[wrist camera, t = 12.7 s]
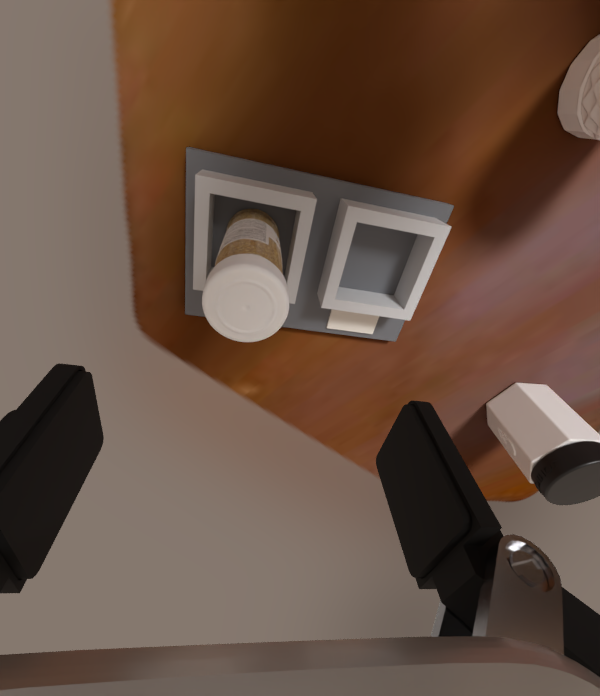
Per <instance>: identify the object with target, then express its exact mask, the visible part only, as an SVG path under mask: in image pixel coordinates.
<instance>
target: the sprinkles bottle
mask: <svg viewBox="0 0 600 696" xmlns="http://www.w3.org/2000/svg"><path fill="white" fill-rule="evenodd" d="M202 307H203V311H204V314H205V317H206V319H207V320H208V322H209V323H210V325H211V326H212V327H213V328H214V329H215V330H216V331H217V332H218V333H220V334H221V335H223V336H224V337H227V338H229V339H231V340H234V341H239V342H256V341H260V340H263V339H266V338H268V337H270V336H271V335H273V334H274V333H276V332H277V331H278V330H279V329H280V328H281V326H282V325H283V324H284V322H285V320H286V318H287V316H288V312H289V293H288V287H287V283H286V280H285V278H284V276H283V272H282V256H281V248H280V241H279V230H278V227H277V225H276V223H275V221H274V220H273V219H272V218H271V217H270V216H269V215H268V214H267V213H265V212H263V211H261V210H258V209H244V210H242V211H239V212H237V213H236V214H235V215H234V216H233V217H232V218H231V219H230V221H229V223H228V225H227V229H226V234H225V236H224V239H223V241H222V244H221V247H220V250H219V253H218V255H217V258H216V262H215V267H214V268H213V269H212V270H211V272H210V274H209V276H208V278H207V280H206V283H205V287H204V290H203V295H202Z"/></svg>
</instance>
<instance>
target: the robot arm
mask: <svg viewBox="0 0 600 696" xmlns="http://www.w3.org/2000/svg"><path fill="white" fill-rule="evenodd" d="M102 444H103V432H102V426H101V421H100V416H99V411H98V405H97V400H96V395H95V389H94V384H93V379H92V375H91V373H90V372H86V371H85V368H84V367H83V366H77V365H68V364H57V365H55V366H54V367H53V368H52V369H51V370H50V371H49V373H48V374H47V375H46V376H45V377H44V378H43V380H42V381H41V382H40V383H39V384H38V385H37V386H36V388H35V389H34V390H33V391H32V392H31V393H30V395H29V396H28V397H27V398H26V399H25V400H24V401H23V403H22V404H21V405H20V406H19V407H18V408H17V410H14V411H11V412H9V413H8V414H7V415H6V416H5V417H4V418H3V419H2V420H1V421H0V593H20V591H21V590H22V588H23V586H24V584H25V582H26V580H27V579H31V578H33V577H34V576H35V575H36V574H37V573H38V571H39V569H40V568H41V566H42V564H43V562H44V560H45V558H46V556H47V554H48V552H49V550H50V548H51V546H52V544H53V542H54V540H55V538H56V536H57V534H58V532H59V530H60V528H61V526H62V524H63V522H64V520H65V519H66V517H67V515H68V513H69V511H70V509H71V506H72V504H73V503H74V501H75V499H76V497H77V495H78V493H79V491H80V489H81V487H82V485H83V483H84V481H85V479H86V477H87V475H88V473H89V471H90V469H91V467H92V465H93V463H94V461H95V460H96V457H97V456H98V454H99V452H100V450H101V447H102ZM376 466H377V469H378V472H379V476H380V479H381V482H382V485H383V489H384V492H385V495H386V498H387V501H388V505H389V508H390V511H391V514H392V517H393V521H394V524H395V527H396V530H397V534H398V537H399V540H400V543H401V547H402V550H403V553H404V555H405V559H406V563H407V566H408V569H409V572H410V574H411V575H412V576H413V577H415V578H416V581H417V584H418V587H419V589H437V591H438V594H439V597H440V599H441V600H440V604H439V607H438V611H437V615H436V619H435V623H434V626H433V630H432V633H431V637H404V638H403V637H402V638H374V639H373V638H372V639H343V640H315V641H289V642H263V643H237V644H212V645H190V646H189V645H188V646H165V647H142V648H121V649H120V648H119V649H98V650H97V649H96V650H75V651H58V652H42V653H26V654H9V655H0V696H600V615H599V614H598V613H596V612H595V611H594V610H592V609H591V608H590V607H588V606H587V605H586V604H584V603H583V602H582V601H580V600H579V599H577V598H576V597H575V596H573V595H572V594H571V593H569V592H568V591H567V590H565V589H564V588H563V587H562V584H561V579H560V576H559V574H558V572H557V570H556V567H555V566H554V565H553V563H552V562H551V560H550V559H549V557H548V556H547V555H546V554H545V553H544V552H543V551H542V550H541V549H540V548H539V547H537V546H536V545H535V544H533V543H532V542H531V541H529V540H527V539H525V538H523V537H522V536H518V535H514V534H510V535H505V536H503V534H502V533H501V531H500V529H501V528H502V527H501V525H500V524H499V522H498V520H497V519H496V517H495V515H494V513H493V512H492V510H491V508H490V506H489V505H488V503H487V501H486V499H485V497H484V496H483V494H482V492H481V490H480V489H479V487H478V485H477V483H476V482H475V480H474V478H473V476H472V475H471V473H470V471H469V469H468V468H467V466H466V464H465V462H464V461H463V459H462V457H461V455H460V454H459V452H458V450H457V448H456V446H455V445H454V443H453V441H452V439H451V438H450V436H449V434H448V432H447V431H446V429H445V427H444V425H443V424H442V422H441V420H440V418H439V417H438V415H437V413H436V411H435V410H434V408H433V406H432V405H431V404H430V403H429V402H421V401H410V402H409V403H408V404H407V405H404V406H403V408H402V410H401V411H400V413H399V415H398V417H397V419H396V421H395V423H394V425H393V426H392V428H391V430H390V432H389V434H388V436H387V438H386V440H385V441H384V443H383V445H382V447H381V449H380V451H379V453H378V455H377V458H376Z"/></svg>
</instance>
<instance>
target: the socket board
mask: <svg viewBox="0 0 600 696" xmlns="http://www.w3.org/2000/svg"><path fill="white" fill-rule="evenodd" d="M453 207H454V206H453V205H451V204H449V203H444V202H439V201H435V200H430V199H426V198H421V197H416V196H412V195H407V194H403V193H398V192H394V191H389V190H384V189H380V188H375V187H371V186H366V185H362V184H357V183H352V182H348V181H343V180H339V179H334V178H330V177H325V176H320V175H316V174H311V173H307V172H302V171H297V170H293V169H288V168H284V167H279V166H275V165H270V164H265V163H261V162H256V161H252V160H247V159H243V158H238V157H233V156H229V155H224V154H220V153H215V152H211V151H206V150H201V149H197V148H192V147H186V245H185V314H187V315H195V316H202V317H205V314H204V311H203V307H202V295H203V290H204V287H205V283H206V280H207V278H208V276H209V274H210V272H211V270H212V269H213V268H214V267H215V262H216V258H217V255H218V253H219V250H220V247H221V244H222V241H223V239H224V236H225V234H226V229H227V225H228V223H229V221H230V219H231V218H232V217H233V216H234V215H235V214H236V213H237V212H239V211H242V210H244V209H258V210H261V211H263V212H265V213H267V214H268V215H269V216H270V217H271V218H272V219H273V220H274V221H275V223H276V225H277V227H278V230H279V241H280V248H281V256H282V272H283V276H284V278H285V280H286V283H287V287H288V293H289V312H288V316H287V318H286V320H285V322H284V324H283V325H282V326H281V327H287V328H295V329H302V330H310V331H318V332H326V333H333V334H341V335H349V336H356V337H364V338H372V339H379V340H387V341H395V342H396V340H397V337H398V335H399V333H400V330H401V328H402V326H403V323H404V321H405V320H411V318H412V315H413V313H414V311H415V309H416V306H417V304H418V302H419V300H420V297H421V295H422V293H423V290H424V288H425V286H426V284H427V281H428V279H429V277H430V275H431V272H432V270H433V268H434V266H435V263H436V261H437V259H438V256H439V254H440V252H441V250H442V247H443V245H444V243H445V241H446V238H447V236H448V234H449V232H450V229H451V226H449V225H447V221H448V219H449V217H450V214H451V212H452V210H453Z"/></svg>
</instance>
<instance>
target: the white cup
mask: <svg viewBox="0 0 600 696" xmlns="http://www.w3.org/2000/svg"><path fill="white" fill-rule="evenodd" d="M557 114H558V117H559V119H560V121H561V124H562V126H563V129H564V130H565V131H567V132H569V133H571V134H572V135H574V136H576V137H578V138H587V139H596V140H600V34H599V35H598V36H596V37H595V38H593V39H592V40H590V41H589V43H588V44H587V45H586V46H585V48H584V49H583V50H582V51H581V52H580V54H579V55H578V56H577V57H576V59H575V60H574V61H573V62H572V64H571V65H570V67H569V70H568V72H567V74H566V77H565V79H564V81H563V83H562V86H561V88H560V91H559V100H558V111H557Z"/></svg>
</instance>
